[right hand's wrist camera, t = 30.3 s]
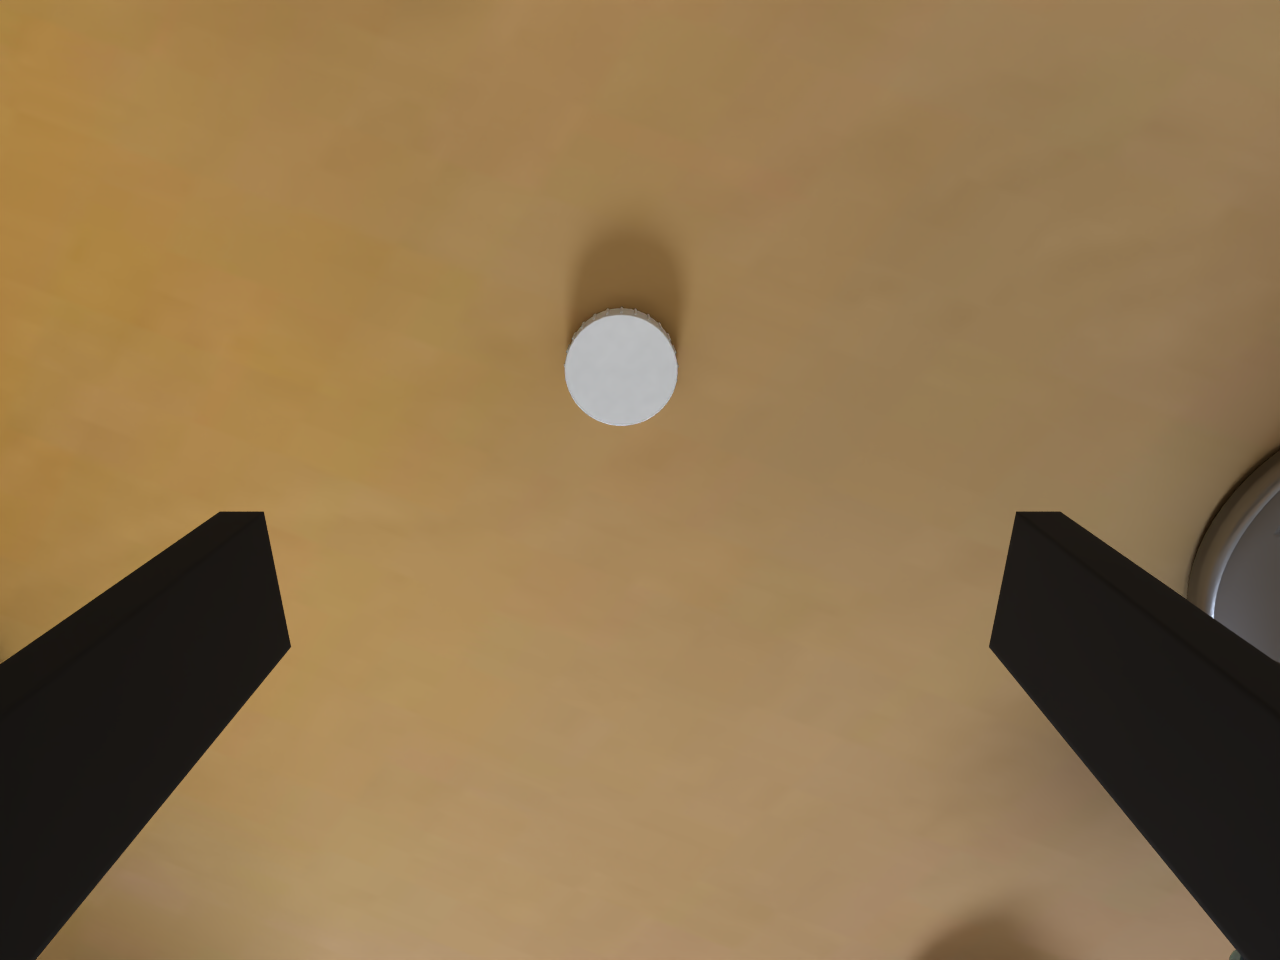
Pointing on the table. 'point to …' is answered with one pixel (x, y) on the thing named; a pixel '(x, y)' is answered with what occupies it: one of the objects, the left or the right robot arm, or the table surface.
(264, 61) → the table surface
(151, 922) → the table surface
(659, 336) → the cap
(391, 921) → the table surface
